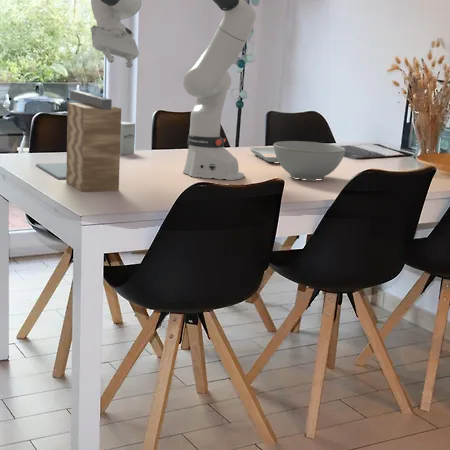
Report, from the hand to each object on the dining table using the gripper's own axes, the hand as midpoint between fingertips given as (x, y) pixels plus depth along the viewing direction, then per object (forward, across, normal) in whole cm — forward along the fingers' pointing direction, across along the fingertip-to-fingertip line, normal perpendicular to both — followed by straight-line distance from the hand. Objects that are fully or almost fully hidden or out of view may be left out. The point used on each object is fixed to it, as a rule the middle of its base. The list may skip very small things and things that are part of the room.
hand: (120, 64), depth 282 cm
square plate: (+32, +84, -6) cm, 90 cm away
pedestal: (+46, -23, +8) cm, 52 cm away
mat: (+31, -13, +27) cm, 43 cm away
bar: (+23, -26, -4) cm, 35 cm away
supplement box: (+12, +34, +39) cm, 53 cm away
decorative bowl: (+53, +54, -27) cm, 80 cm away
